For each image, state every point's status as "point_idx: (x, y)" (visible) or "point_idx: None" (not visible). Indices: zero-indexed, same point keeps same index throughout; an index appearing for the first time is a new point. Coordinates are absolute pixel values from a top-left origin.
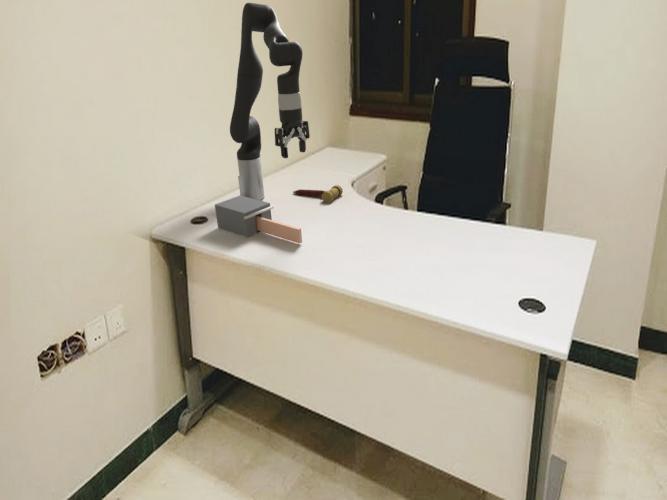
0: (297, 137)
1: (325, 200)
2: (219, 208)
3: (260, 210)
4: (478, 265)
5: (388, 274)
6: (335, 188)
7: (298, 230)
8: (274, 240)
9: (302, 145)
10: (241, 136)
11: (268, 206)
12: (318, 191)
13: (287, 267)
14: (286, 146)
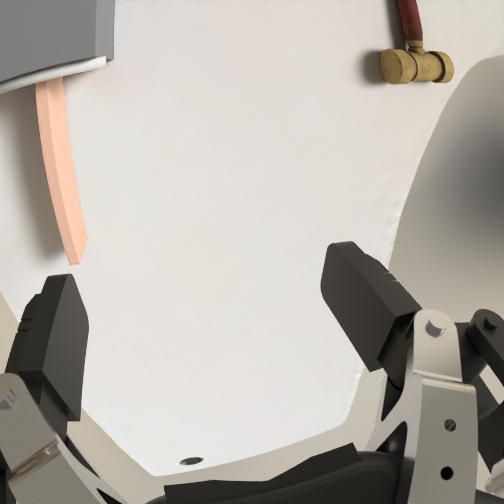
0: (410, 371)
1: (383, 61)
2: None
3: (37, 77)
4: (234, 426)
5: (135, 400)
6: (437, 73)
7: (70, 263)
8: None
9: (356, 326)
10: None
11: (87, 58)
12: (413, 23)
13: (11, 300)
14: (65, 435)
